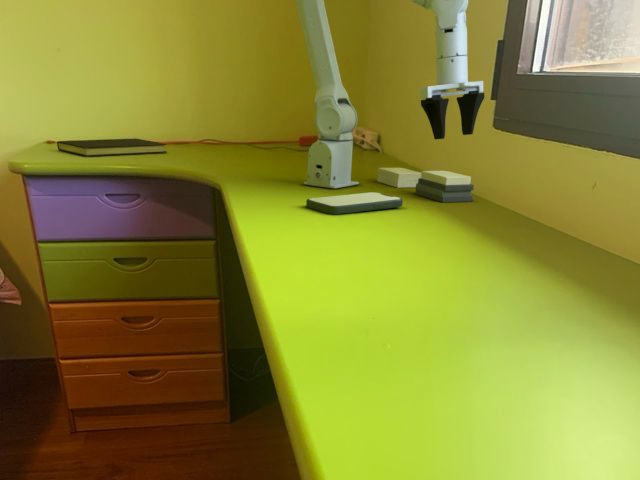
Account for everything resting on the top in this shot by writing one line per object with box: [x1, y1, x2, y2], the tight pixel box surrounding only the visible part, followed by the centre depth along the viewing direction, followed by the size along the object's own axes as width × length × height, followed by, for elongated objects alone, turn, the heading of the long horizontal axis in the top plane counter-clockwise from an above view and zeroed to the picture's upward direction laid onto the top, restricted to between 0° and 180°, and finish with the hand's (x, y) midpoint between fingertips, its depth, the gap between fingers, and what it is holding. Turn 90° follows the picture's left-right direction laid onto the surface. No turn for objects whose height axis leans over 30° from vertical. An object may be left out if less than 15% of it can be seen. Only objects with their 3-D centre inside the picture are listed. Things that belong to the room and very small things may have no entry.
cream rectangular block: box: [376, 167, 422, 189], centre depth 149 cm, size 9×6×3 cm, turn 24°
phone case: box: [305, 191, 404, 215], centre depth 121 cm, size 9×2×16 cm
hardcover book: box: [56, 137, 167, 158], centre depth 183 cm, size 16×23×2 cm
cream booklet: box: [420, 170, 472, 185], centre depth 134 cm, size 9×6×1 cm, turn 24°
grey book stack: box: [415, 178, 475, 203], centre depth 135 cm, size 10×7×3 cm
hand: (453, 136), depth 133 cm, fingers open, 7 cm apart
